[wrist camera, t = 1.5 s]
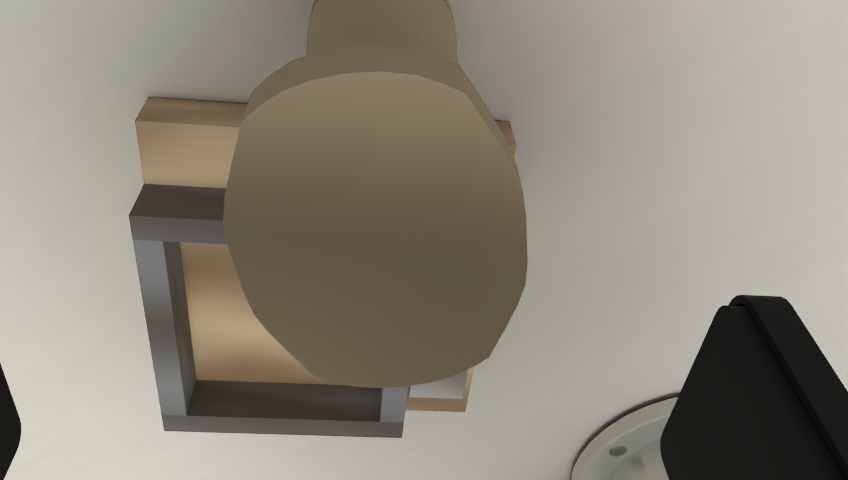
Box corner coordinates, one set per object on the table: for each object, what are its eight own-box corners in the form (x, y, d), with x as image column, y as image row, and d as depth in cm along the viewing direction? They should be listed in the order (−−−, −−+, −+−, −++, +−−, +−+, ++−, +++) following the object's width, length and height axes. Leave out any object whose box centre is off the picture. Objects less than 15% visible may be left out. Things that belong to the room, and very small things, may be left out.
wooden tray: (461, 382, 36) (468, 447, 33) (184, 372, 35) (165, 438, 32) (509, 121, 28) (524, 175, 25) (149, 97, 27) (118, 150, 24)
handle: (328, 74, 26) (279, 399, 14) (288, -124, 23) (177, 94, 11) (464, 57, 26) (531, 373, 14) (447, -145, 22) (519, 52, 10)
